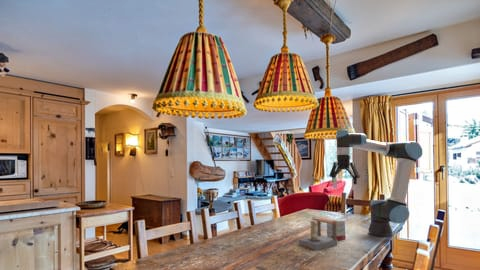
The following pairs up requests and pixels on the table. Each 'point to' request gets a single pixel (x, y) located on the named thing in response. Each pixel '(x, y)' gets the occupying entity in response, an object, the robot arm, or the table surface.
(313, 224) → the peg
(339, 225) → the ink box
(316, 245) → the socket porch
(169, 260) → the table surface
